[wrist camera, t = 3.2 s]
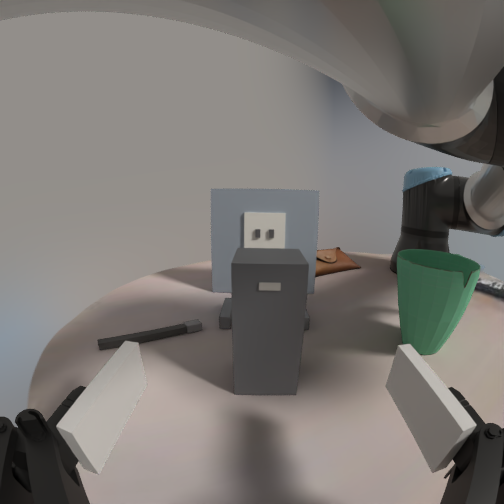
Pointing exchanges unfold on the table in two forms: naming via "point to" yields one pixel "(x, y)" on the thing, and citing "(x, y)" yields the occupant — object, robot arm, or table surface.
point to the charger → (268, 319)
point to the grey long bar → (151, 334)
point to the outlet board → (260, 231)
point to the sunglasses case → (333, 262)
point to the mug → (432, 295)
